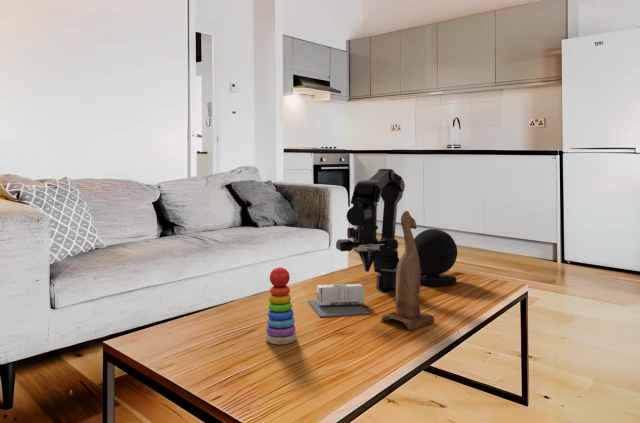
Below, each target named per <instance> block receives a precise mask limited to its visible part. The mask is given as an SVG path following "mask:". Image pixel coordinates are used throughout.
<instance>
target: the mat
mask: <svg viewBox="0 0 640 423" xmlns="http://www.w3.org/2000/svg"><path fill="white" fill-rule="evenodd" d="M307 303H308V305H310V306H311V308H312V310H314V312H315V313H316V314H317V316H318V318H331V317H332V318H333V317H343V316H344V317H346V316H358V315H368V314H370V312H369V311H368V310H367V309H366V308H364V306H362V304H356V305H319V304H318V302H317V299H313V300H307Z"/></svg>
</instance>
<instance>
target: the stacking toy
mask: <svg viewBox="0 0 640 423" xmlns="http://www.w3.org/2000/svg"><path fill="white" fill-rule="evenodd" d="M290 276H291V275H290V273H289V271H288V270H287V269H286V268H284V267H280V266H279V267H275V268H274V269H272V271H271V272H270V274H269V281H270V283H271V285H272V286H271V287H270V288H269V292H270V296H269V298H268V301H269V303H268V305H267V306H268V312H267V316H268V318H267V319H266V320H267V321H266V324H267V326H266V327H265V332H266V333H265V341H267V342H268V343H270V344H272V345H287V344H288V345H289V344H291V343H293V342H295V341H296V340H297V332H296V326H295V323H296V322H295V318H294V315H295V314H294V310H293V309H292V307H293V303H292V302H291V300H292V296H291V294H290V291H291V288H290V287H289V286H288V284H289V282H290V279H291V277H290Z"/></svg>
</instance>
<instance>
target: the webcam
mask: <svg viewBox="0 0 640 423" xmlns="http://www.w3.org/2000/svg"><path fill="white" fill-rule="evenodd" d="M413 238H414V237H413ZM414 241H415V244H416V248H417V252H418V256H419V263H420V286H422V287H423V286H424V287H432V288H433V287H434V288H443V287H444V288H445V286H446V287H452V286H455V285H457V277H456V276H451V275H448V274H444V273H447V272H448V271H450V270H451V268H453V266H454V265H455V263H456V262H457V257H458V247H457V244H456V241H455V240H454V238H453V237H452V236H451V235H450V234H449V233H447V232H446V231H444V230H441V229H438V228H429V229H425V230H423V231H421V232H419V233H418V234H417V235H416V236H415V238H414ZM454 284H455V285H454ZM451 285H452V286H451Z"/></svg>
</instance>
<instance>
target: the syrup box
mask: <svg viewBox="0 0 640 423" xmlns="http://www.w3.org/2000/svg"><path fill="white" fill-rule="evenodd" d="M316 300H317V302H318V304H319V305H356V304H360V305H365V301H366V300H365V286H364V285H363V284H361V283H347V284H345V283H343V284H341V283H340V284H317V285H316Z"/></svg>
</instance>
